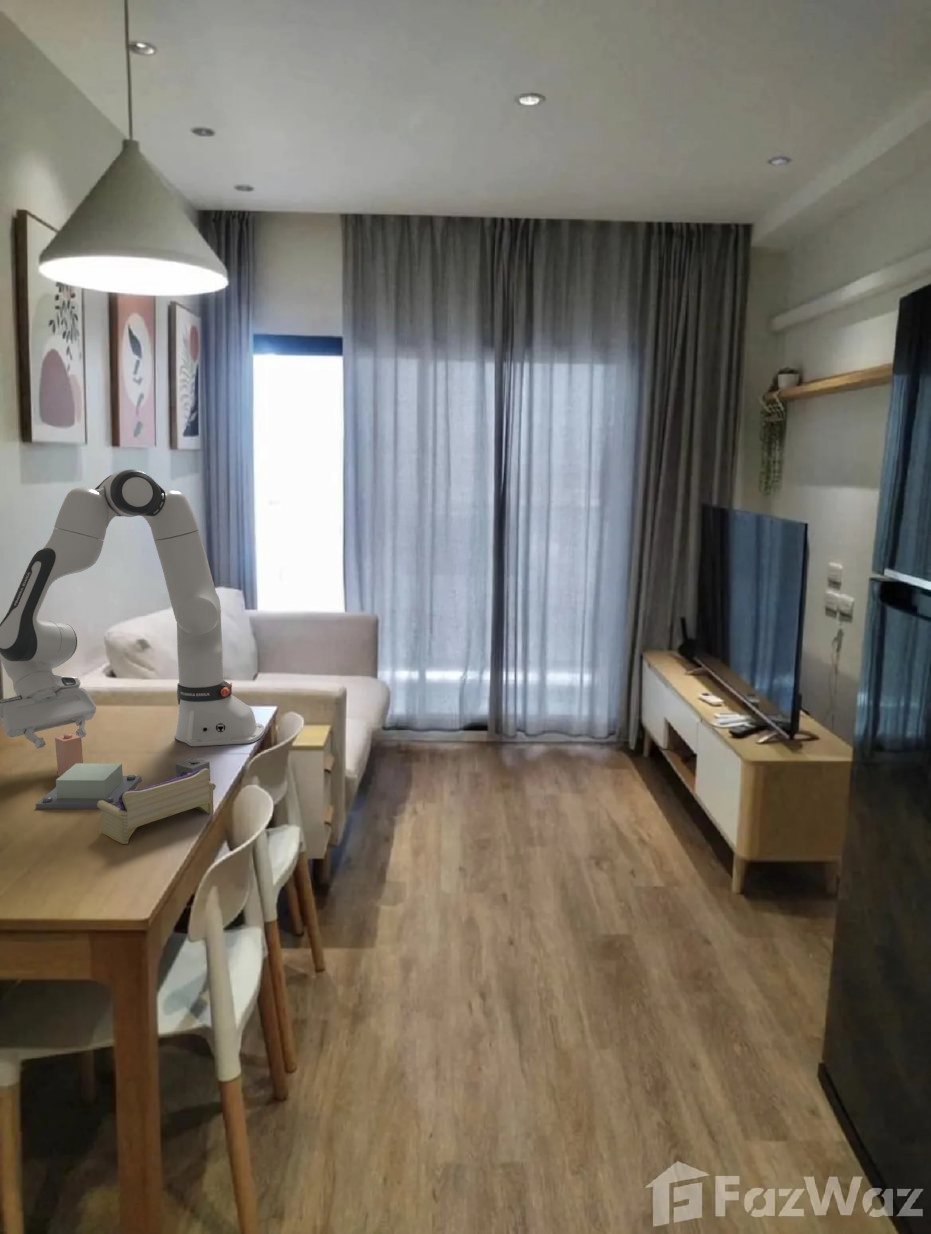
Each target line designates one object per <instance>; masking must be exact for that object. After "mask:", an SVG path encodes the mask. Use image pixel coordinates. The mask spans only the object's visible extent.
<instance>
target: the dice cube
mask: <svg viewBox="0 0 931 1234" xmlns="http://www.w3.org/2000/svg"><path fill="white" fill-rule="evenodd" d="M210 765H211V764H210V761H207V760H202V759H198V758H194V757H192V758H189V759H187V760H184V761H181V762H179V763H176V764H175V771H176V773H175V774H176V778H178V777H182V776H185V775H187V774H188V773H192V772H195V771H198V770H201V769H204V768H207V769H209V770H210V771H211V767H210ZM209 781H210V782H211V777H210V778H209Z"/></svg>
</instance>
